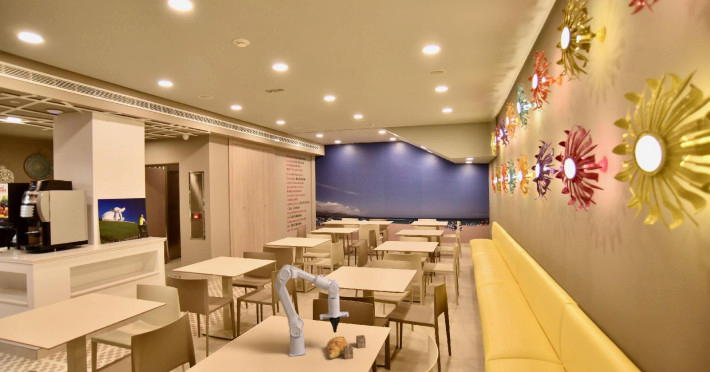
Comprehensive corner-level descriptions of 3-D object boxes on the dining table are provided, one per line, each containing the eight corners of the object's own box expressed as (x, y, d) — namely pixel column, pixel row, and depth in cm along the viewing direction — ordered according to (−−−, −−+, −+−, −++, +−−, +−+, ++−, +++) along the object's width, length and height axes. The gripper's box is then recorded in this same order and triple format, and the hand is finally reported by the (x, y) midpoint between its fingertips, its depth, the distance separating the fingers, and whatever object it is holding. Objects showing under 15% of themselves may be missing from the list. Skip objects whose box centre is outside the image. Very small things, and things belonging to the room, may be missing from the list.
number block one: (343, 355, 180) (343, 345, 180) (351, 354, 181) (351, 344, 181) (345, 359, 176) (344, 349, 176) (353, 358, 177) (352, 348, 177)
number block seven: (356, 345, 191) (356, 335, 191) (363, 344, 192) (363, 334, 192) (358, 348, 187) (357, 338, 187) (365, 347, 188) (365, 338, 188)
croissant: (337, 368, 175) (344, 354, 174) (318, 357, 177) (325, 343, 176) (347, 347, 196) (354, 335, 195) (331, 338, 197) (337, 325, 196)
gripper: (320, 309, 181) (321, 336, 181) (349, 306, 184) (350, 333, 184) (319, 304, 188) (319, 331, 188) (346, 301, 191) (347, 328, 191)
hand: (334, 331), depth 186 cm, fingers closed
